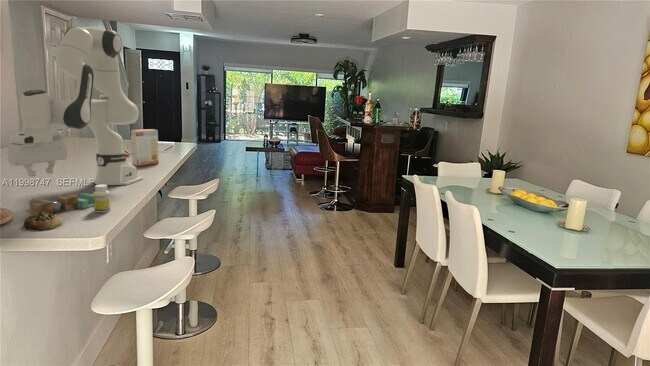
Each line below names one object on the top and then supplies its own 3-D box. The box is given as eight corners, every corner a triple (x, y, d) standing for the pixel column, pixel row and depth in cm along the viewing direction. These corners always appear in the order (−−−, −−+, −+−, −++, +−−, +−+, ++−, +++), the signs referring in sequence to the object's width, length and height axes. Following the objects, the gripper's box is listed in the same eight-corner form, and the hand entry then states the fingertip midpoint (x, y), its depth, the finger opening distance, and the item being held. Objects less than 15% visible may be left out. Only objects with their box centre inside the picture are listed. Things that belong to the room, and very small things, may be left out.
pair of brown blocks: (70, 205, 162) (70, 194, 161) (78, 207, 161) (78, 195, 160) (30, 216, 147) (29, 203, 146) (39, 217, 146) (38, 205, 145)
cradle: (84, 199, 171) (83, 192, 171) (103, 203, 168) (103, 196, 168) (63, 205, 162) (62, 197, 162) (83, 208, 159) (82, 201, 159)
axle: (40, 205, 159) (37, 196, 157) (64, 210, 155) (62, 201, 154) (30, 210, 156) (28, 200, 154) (55, 214, 152) (53, 205, 151)
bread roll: (15, 226, 136) (16, 211, 136) (48, 222, 147) (49, 208, 146) (39, 234, 133) (40, 218, 132) (71, 229, 143) (72, 214, 143)
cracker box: (153, 162, 259) (152, 128, 255) (159, 164, 256) (158, 129, 251) (131, 165, 248) (130, 129, 243) (137, 166, 244) (136, 130, 240)
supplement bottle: (98, 208, 161) (96, 183, 159) (112, 209, 162) (111, 184, 160) (91, 212, 156) (90, 186, 154) (106, 213, 156) (105, 187, 154)
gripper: (57, 133, 161) (60, 169, 164) (2, 138, 142) (6, 178, 145) (70, 135, 159) (72, 171, 162) (16, 139, 140) (20, 180, 143)
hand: (41, 174), depth 153 cm, fingers open, 5 cm apart
